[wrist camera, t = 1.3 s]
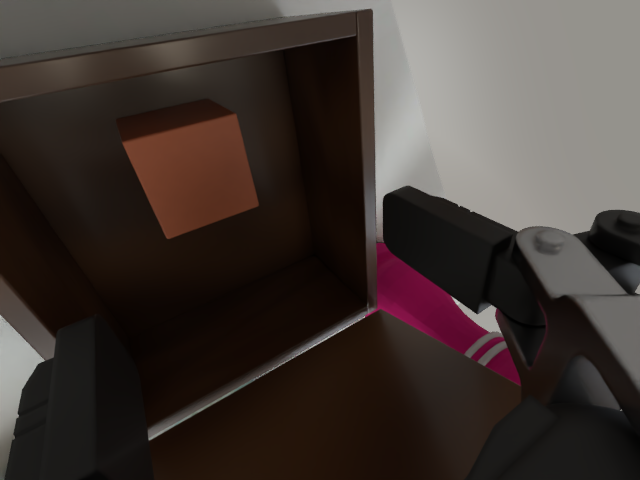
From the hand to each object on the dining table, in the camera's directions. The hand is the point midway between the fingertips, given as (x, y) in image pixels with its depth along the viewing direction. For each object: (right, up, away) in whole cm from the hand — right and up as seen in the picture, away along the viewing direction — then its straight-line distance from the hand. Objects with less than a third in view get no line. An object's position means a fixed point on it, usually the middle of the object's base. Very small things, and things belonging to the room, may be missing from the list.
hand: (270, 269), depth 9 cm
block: (-6, +6, +9) cm, 12 cm away
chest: (-6, +4, +11) cm, 13 cm away
